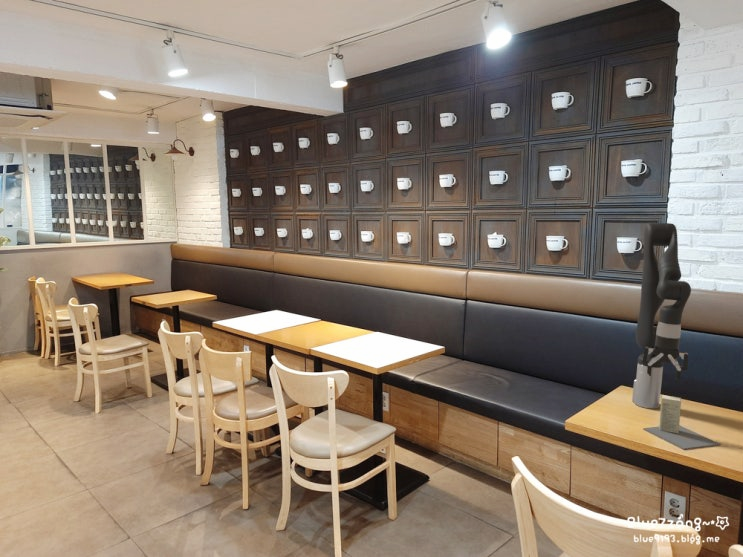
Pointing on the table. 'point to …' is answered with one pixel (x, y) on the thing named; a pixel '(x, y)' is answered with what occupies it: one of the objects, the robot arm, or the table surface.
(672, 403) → the skincare box
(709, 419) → the table surface
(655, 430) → the mat
